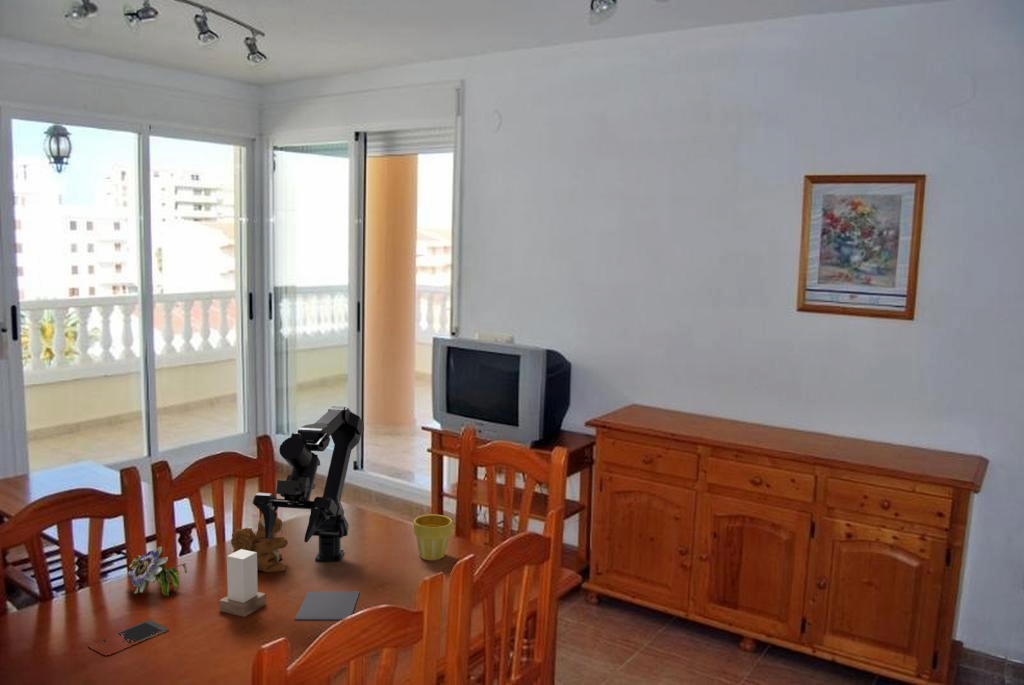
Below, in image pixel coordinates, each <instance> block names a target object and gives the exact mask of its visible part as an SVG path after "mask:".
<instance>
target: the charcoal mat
mask: <svg viewBox="0 0 1024 685" xmlns="http://www.w3.org/2000/svg"><path fill="white" fill-rule="evenodd" d="M359 595H360V591H357V590H355V591H351V590H350V591H341V590H340V591H337V590H335V591H334V590H333V591H331V590H330V591H327V590H326V591H323V590H322V591H317V590H315V591H313V590H312V591H307V594H306V595H305V597H304V599H303V601H302V604H301V605H300V608H299V609H298V611H297V613H296V615H295V617H294V620H295V621H342V620H341V619H343V618H345V617H347V616H349V615H351V614H352V615H353V612H354V610H355V607H356V604H357V601H358V598H359Z"/></svg>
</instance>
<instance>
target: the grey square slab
mask: <svg viewBox="0 0 1024 685" xmlns="http://www.w3.org/2000/svg"><path fill="white" fill-rule="evenodd" d="M266 596H267V593H264V592H260V591H258V595H256V596H255V597H253V598H251V599H250V600H248V601H246V602H244V603H243V602H238V601H234V600H230V599H228V595H227V596H224V597H223V598H221V599H219V612H224V613H227V614H231V615H235V616H240V617H244V618H245V617H247V616H248V615H251V614H252V613H254V612H255V611H257V610H259V609H260V608H263V607H264V606H266V604H267V597H266Z"/></svg>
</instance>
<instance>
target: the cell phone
mask: <svg viewBox="0 0 1024 685" xmlns="http://www.w3.org/2000/svg"><path fill="white" fill-rule="evenodd" d="M160 624H161V623H159V624H158V622H156V621H154V620H152V619H148V620H145V621H143V622H140V623H138V624H135V625H132V626H129V627H128V628H125V629H122V630H120V631H123V630H124V631H123V632H120V631H118V632H120V633H122V634H123V633H125V634H123V635H124V639H125V640H126V641H127V639H130V640H129V642H128V641H127V642H128V643H130V644H131V640H133V641H134V642H135V643H136V641H139V642H140V641H142V640H143V639H147V638H148V637H152V636H154V635H156V633H161V632H163V631H167V630H168V629H169V628H168V627H167V626H164V625H162V624H161V625H160ZM160 627H161V628H160ZM158 628H159V629H158ZM158 631H159V632H158ZM153 632H154V633H153ZM167 632H168V631H167ZM120 633H118V634H119V635H120V636H121V634H120ZM151 634H152V636H151ZM145 637H146V638H145ZM134 639H135V640H134ZM103 641H104V642H106V641H105V639H103ZM123 642H124V641H123ZM97 643H98V642H97ZM98 646H99V645H98Z"/></svg>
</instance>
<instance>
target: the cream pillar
mask: <svg viewBox="0 0 1024 685" xmlns="http://www.w3.org/2000/svg"><path fill="white" fill-rule="evenodd" d="M226 565H227V566H226V567H227V568H226V569H227V571H226V574H227V580H226V581H227V596H228V599H230V600H234V601H238V602H243V603H244V602H246V601H248V600H250V599H251V598H253V597H255V596H256V595H258V592H259V591H258V588H259V587H258V570H257V552H253V551H248V550H243V549H240V550H238V551H236V552H232V553H231V554H227V555H226Z"/></svg>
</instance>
